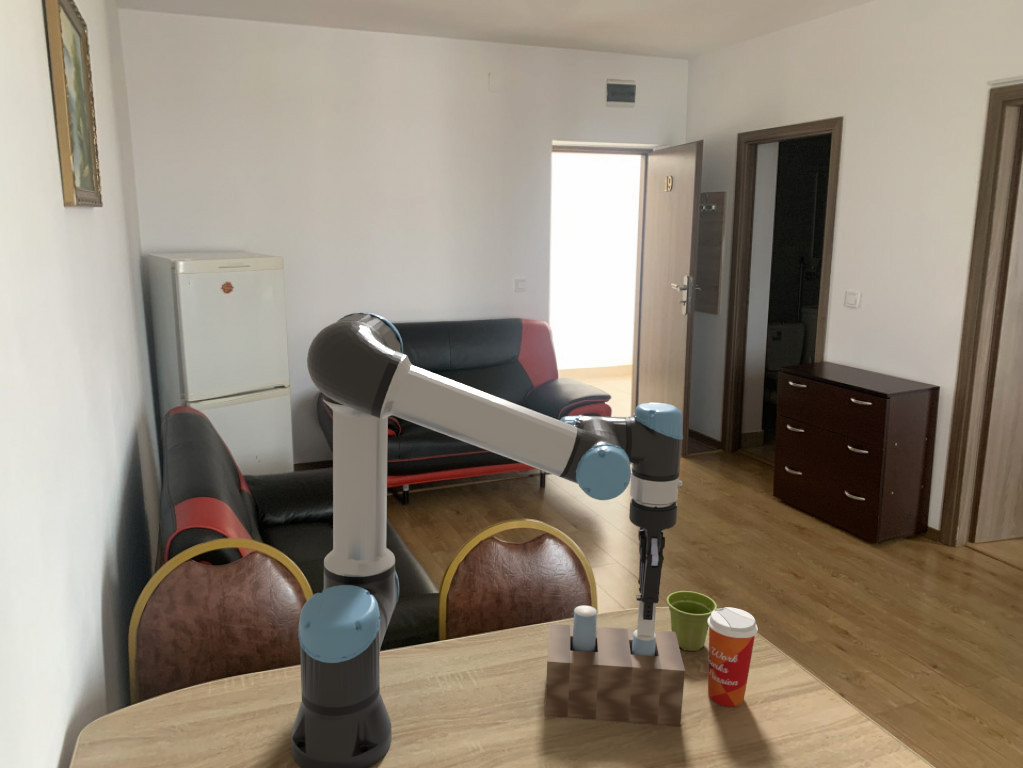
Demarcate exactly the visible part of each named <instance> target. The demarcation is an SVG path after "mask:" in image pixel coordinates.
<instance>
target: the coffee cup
mask: <svg viewBox="0 0 1023 768" xmlns="http://www.w3.org/2000/svg"><path fill="white" fill-rule="evenodd" d="M708 625H709V627H708V632H709V634H708V660H707V662H708V668H707V694H708V697H709V699H710V700H711V701H712V702H713V703H715V704H717V705H719V706H722V707H725V708H726V707H727V708H735V707H739V706H740V705H742V704H743V703H744V700H745V695H746V689H747V684H748V678H749V673H750V667H751V666H750V665H751V661H752V655H753V648H754V642H755V636H756V635H757V632H758V631H759V629H758V625H757V622H756V619H755V617H754V616H753V615H752V614H751V613H750V612H748V611H746V610H743V609H741V608H735V607H731V606H729V607H728V606H727V607H725V606H724V607H722V608H717V609H716V611H715V610H714V611H713V612H712V613H711V616H710V617H709V618H708Z"/></svg>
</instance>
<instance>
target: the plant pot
mask: <svg viewBox="0 0 1023 768" xmlns="http://www.w3.org/2000/svg"><path fill="white" fill-rule="evenodd" d="M666 603H667V605H668V609H669V612H670V625H671V626H670V627H671V628H670V629H671V632H675V633H676V637H677V641H678V645H679V648H681V649H682V650H684V651H689V652H696V651H700V650H701V649H702V648H703V647H704V646H705V643H706V639H707V634H708V632H709V625H708V618H709V617H710V616H711V613H712V612H713V611H714V610H715V611H717V609H718V608H717V607H718V605H717V603H716V602H715V600H713V598H711V597H709V596H707V595H706V594H703V593H699V592H697V591H691V590H690V591H689V590H679V591H675V592H672V593H670V594H668V596H667V597H666Z"/></svg>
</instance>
